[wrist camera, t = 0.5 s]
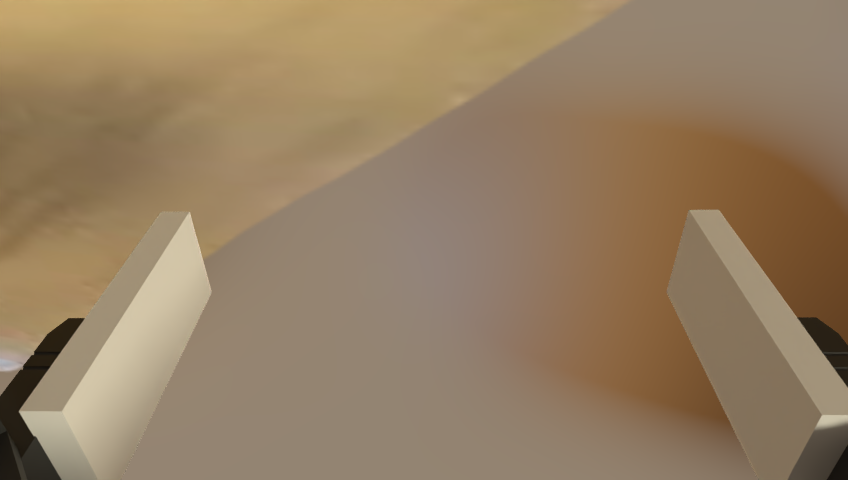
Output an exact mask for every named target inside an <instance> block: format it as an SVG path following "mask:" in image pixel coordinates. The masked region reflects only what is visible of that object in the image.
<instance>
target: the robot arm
mask: <svg viewBox="0 0 848 480" xmlns="http://www.w3.org/2000/svg"><path fill="white" fill-rule="evenodd" d="M211 293H212V292H211V288H210V284H209V281H208V277H207V273H206V270H205V266H204V262H203V259H202V255H201V252H200V248H199V244H198V241H197V237H196V233H195V230H194V226H193V223H192V219H191V215H190V212H161V213H160V214H159V215H158V217H157V218H156V220H155V221H154V222H153V224H152V225H151V227H150V228H149V229H148V231H147V232H146V234H145V235H144V236H143V238H142V239H141V241H140V242H139V243H138V245H137V246H136V248H135V249H134V250H133V252H132V253H131V255H130V256H129V257H128V259H127V260H126V262H125V263H124V264H123V266H122V267H121V269H120V270H119V271H118V273H117V274H116V276H115V277H114V278H113V280H112V281H111V283H110V284H109V285H108V287H107V288H106V290H105V291H104V292H103V294H102V295H101V297H100V298H99V299H98V301H97V302H96V304H95V305H94V306H93V308H92V309H91V311H90V312H89V313H88V315H87V316H86V318H68V319H67V320H66V321H64V322H63V323H62V324H60V325H59V326H58V327H56V328H55V329H54V330H52V331H51V332H50V333H48V334H47V336H46V337H45V338H44V340H43V341H42V342H41V343H40V345H39V346H38V347H37V349H36V350H35V351H34V355H31V357H30V358H29V359H28V360H27V362H26V363H25V364H24V366H23V370H20V371H19V372H18V374H17V375H16V376H15V378H14V379H13V380H12V381H11V383H10V384H9V385H8V387H7V388H6V389H5V391H4V392H3V393H2V394H1V396H0V480H121V479H122V477H123V475H124V473H125V471H126V469H127V467H128V464H129V462H130V460H131V458H132V456H133V454H134V452H135V450H136V448H137V446H138V444H139V442H140V440H141V438H142V436H143V434H144V432H145V429H146V427H147V425H148V423H149V421H150V419H151V417H152V415H153V413H154V411H155V409H156V407H157V405H158V402H159V400H160V398H161V396H162V394H163V392H164V390H165V388H166V386H167V384H168V382H169V380H170V378H171V375H172V374H173V371H174V369H175V367H176V365H177V363H178V361H179V359H180V357H181V355H182V353H183V351H184V349H185V347H186V344H187V342H188V340H189V338H190V336H191V334H192V332H193V330H194V328H195V326H196V324H197V322H198V320H199V317H200V316H201V313H202V311H203V309H204V307H205V305H206V303H207V301H208V299H209V297H210V295H211ZM667 294H668V296H669V298H670V300H671V302H672V304H673V306H674V308H675V310H676V312H677V314H678V316H679V319H680V321H681V323H682V325H683V327H684V329H685V331H686V333H687V335H688V337H689V339H690V341H691V343H692V345H693V347H694V349H695V351H696V353H697V355H698V358H699V359H700V361H701V364H702V366H703V368H704V370H705V372H706V374H707V376H708V378H709V380H710V382H711V384H712V386H713V388H714V390H715V392H716V394H717V397H718V399H719V401H720V403H721V405H722V407H723V409H724V411H725V413H726V415H727V417H728V419H729V421H730V423H731V425H732V427H733V429H734V431H735V433H736V435H737V437H738V440H739V441H740V444H741V446H742V447H743V450H744V452H745V454H746V456H747V458H748V460H749V462H750V464H751V466H752V468H753V470H754V472H755V474H756V477H757V478H758V480H848V345H847V344H846V343H845V341H844V340H843V339H842V338H841V336H840V335H839V334H838V333H837V332H835V331H834V330H833V329H831V328H830V327H829V326H827V325H826V324H824V323H823V322H822V321H820V320H819V319H818V318H797V317H796V316H795V314H794V313H793V312H792V310H791V309H790V308H789V306H788V305H787V303H786V302H785V301H784V299H783V298H782V296H781V295H780V294H779V292H778V291H777V290H776V288H775V287H774V285H773V284H772V283H771V281H770V280H769V279H768V277H767V276H766V275H765V273H764V272H763V270H762V269H761V267H760V266H759V265H758V263H757V262H756V261H755V259H754V258H753V257H752V255H751V254H750V252H749V251H748V250H747V248H746V247H745V245H744V244H743V243H742V242H741V240H740V239H739V237H738V236H737V234H736V233H735V232H734V230H733V229H732V228H731V226H730V225H729V224H728V222H727V221H726V219H725V218H724V217H723V215H722V214H721V212H720V211H719V210H689V212H688V216H687V219H686V223H685V226H684V230H683V234H682V238H681V241H680V245H679V248H678V252H677V256H676V259H675V263H674V267H673V270H672V275H671V278H670V282H669V285H668V289H667Z"/></svg>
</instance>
